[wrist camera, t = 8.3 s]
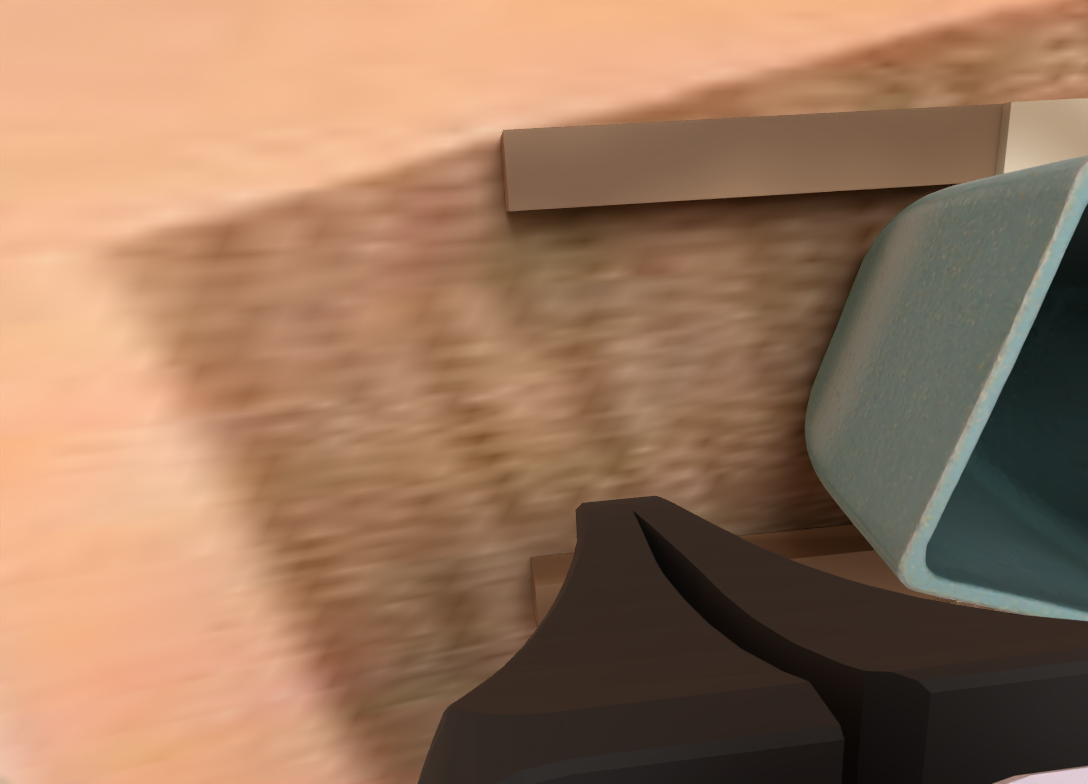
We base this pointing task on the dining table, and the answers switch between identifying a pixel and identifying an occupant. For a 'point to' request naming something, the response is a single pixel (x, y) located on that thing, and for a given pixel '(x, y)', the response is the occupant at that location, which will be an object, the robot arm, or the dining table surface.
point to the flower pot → (969, 394)
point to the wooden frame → (773, 169)
